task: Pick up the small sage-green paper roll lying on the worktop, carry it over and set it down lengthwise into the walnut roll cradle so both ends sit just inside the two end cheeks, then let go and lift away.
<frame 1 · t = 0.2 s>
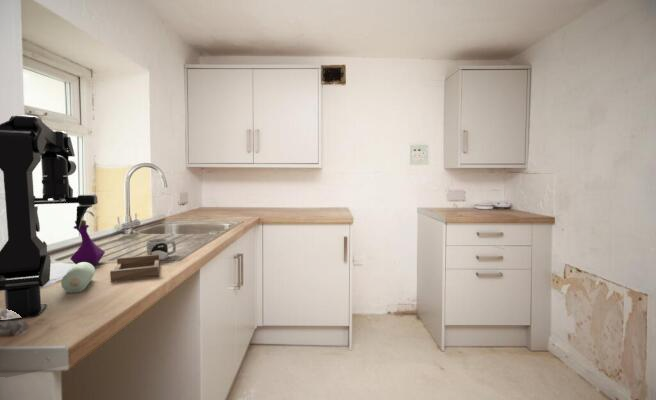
hand: (58, 230, 97), 14 cm above the counter, tool pointing down, fingers open, 9 cm apart
roll: (79, 286, 91), on the counter
holder: (137, 271, 105), on the counter
mug: (162, 258, 122), on the counter
perfume bottle: (88, 265, 112), on the counter
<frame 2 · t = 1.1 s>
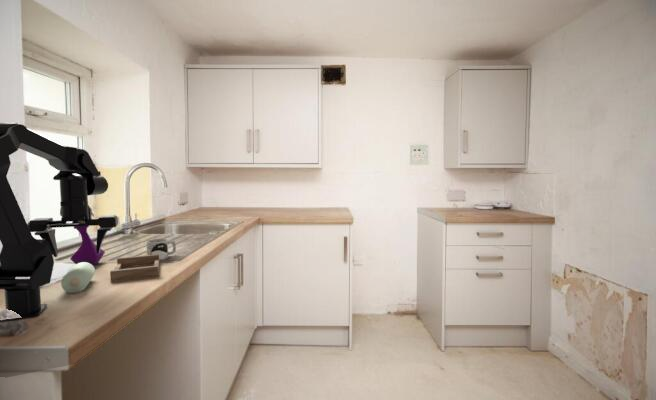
hand: (77, 254, 91), 9 cm above the counter, tool pointing down, fingers open, 9 cm apart
nothing on the counter moved.
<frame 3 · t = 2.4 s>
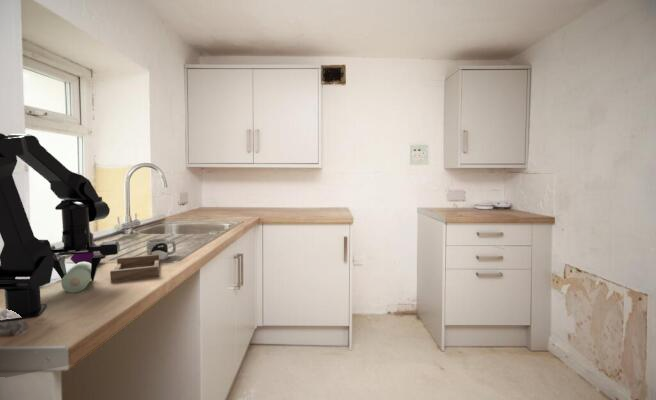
hand: (79, 281, 91), 1 cm above the counter, tool pointing down, fingers closed on roll, 6 cm apart
roll: (79, 286, 91), on the counter, touching gripper
everything else where it was.
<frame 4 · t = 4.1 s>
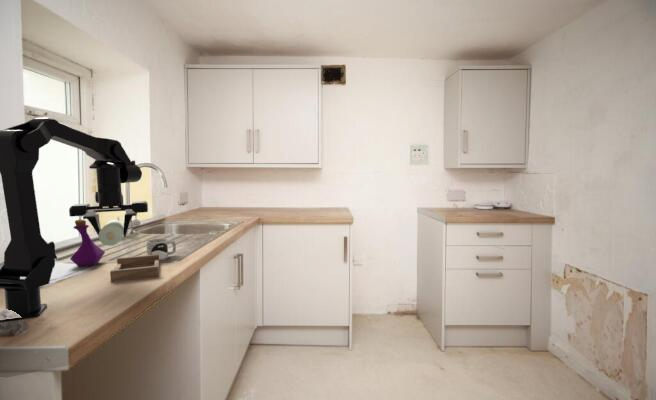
hand: (113, 237, 99), 12 cm above the counter, tool pointing down, fingers closed on roll, 6 cm apart
roll: (113, 241, 99), point 11 cm above the counter, touching gripper
everything else where it was.
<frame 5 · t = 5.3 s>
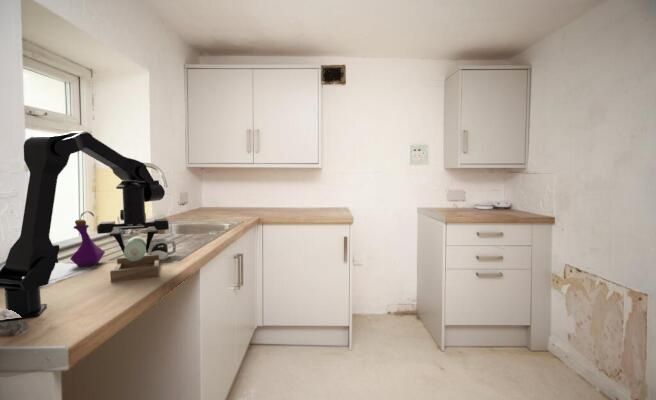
hand: (136, 253, 104), 6 cm above the counter, tool pointing down, fingers closed on roll, 6 cm apart
roll: (136, 257, 105), point 5 cm above the counter, touching gripper
everything else where it was.
when the fingers open (2 cm above the counter, at t = 6.2 s): roll drops 1 cm, resting in holder.
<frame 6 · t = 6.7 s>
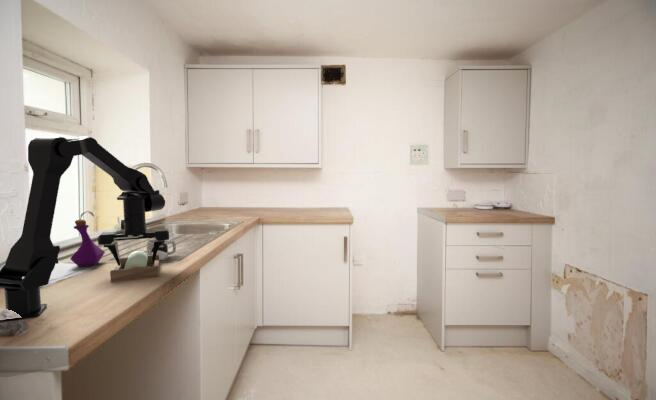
hand: (136, 263, 105), 2 cm above the counter, tool pointing down, fingers open, 9 cm apart
roll: (137, 271, 105), resting in holder
everything else where it was.
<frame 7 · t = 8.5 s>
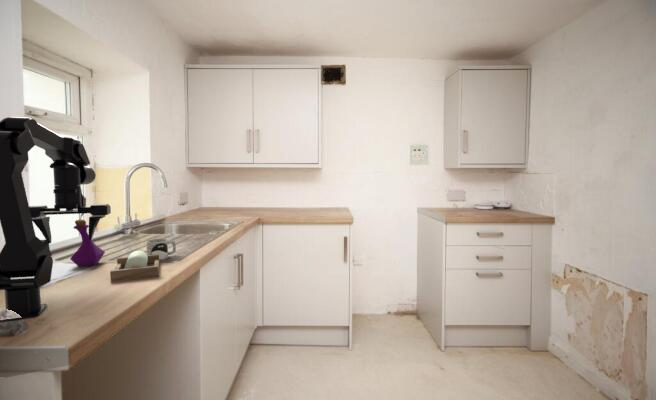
hand: (70, 241, 93), 12 cm above the counter, tool pointing down, fingers open, 9 cm apart
nothing on the counter moved.
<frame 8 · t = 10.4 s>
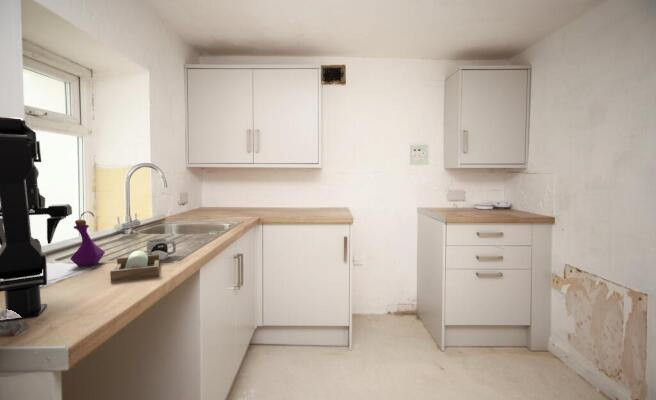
hand: (27, 244, 87), 12 cm above the counter, tool pointing down, fingers open, 9 cm apart
nothing on the counter moved.
at the end: roll inside the target area on the holder (0.0 cm from its centre), point 0.0 cm above the holder's base; roll moved 15.8 cm from its start; the gripper is holding nothing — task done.
